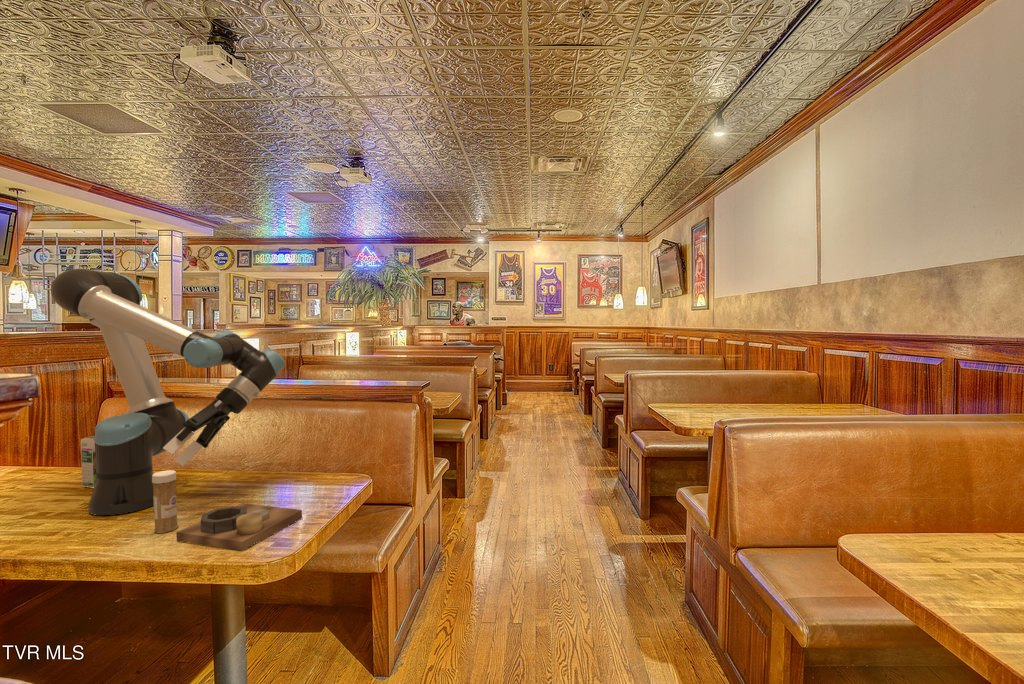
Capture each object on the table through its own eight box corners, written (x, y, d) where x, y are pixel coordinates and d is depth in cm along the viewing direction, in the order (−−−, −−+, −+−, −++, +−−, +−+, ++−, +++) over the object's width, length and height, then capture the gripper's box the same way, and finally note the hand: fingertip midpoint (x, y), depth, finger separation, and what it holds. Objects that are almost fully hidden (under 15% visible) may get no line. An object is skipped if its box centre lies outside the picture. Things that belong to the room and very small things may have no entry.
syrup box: (81, 488, 144) (78, 438, 144) (102, 481, 150) (100, 434, 150) (96, 489, 143) (94, 439, 142) (116, 482, 149) (114, 435, 148)
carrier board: (176, 541, 108) (175, 518, 108) (242, 510, 125) (242, 491, 125) (242, 551, 103) (241, 527, 103) (302, 518, 120) (301, 497, 120)
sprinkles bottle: (173, 532, 113) (170, 474, 112) (150, 535, 112) (147, 476, 111) (181, 524, 117) (179, 468, 116) (159, 526, 116) (157, 470, 115)
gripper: (244, 388, 128) (176, 455, 116) (252, 415, 149) (194, 475, 137) (220, 371, 127) (148, 436, 116) (231, 401, 148) (171, 459, 136)
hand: (173, 457), depth 126 cm, fingers open, 13 cm apart
